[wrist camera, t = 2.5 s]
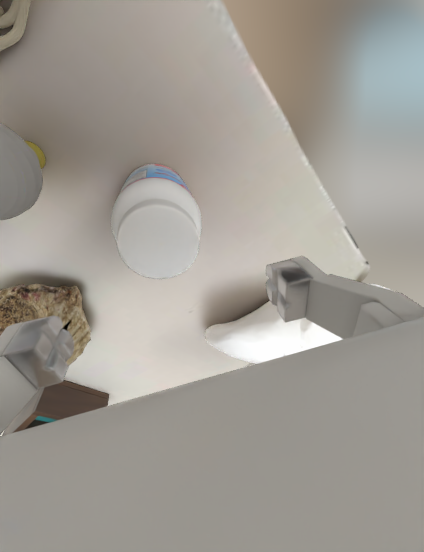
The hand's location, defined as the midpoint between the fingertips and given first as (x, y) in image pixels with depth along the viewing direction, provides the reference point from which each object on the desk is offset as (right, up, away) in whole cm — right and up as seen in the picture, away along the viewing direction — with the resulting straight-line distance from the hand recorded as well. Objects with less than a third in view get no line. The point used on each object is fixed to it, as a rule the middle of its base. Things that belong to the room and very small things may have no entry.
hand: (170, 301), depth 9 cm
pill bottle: (-4, +9, +13) cm, 16 cm away
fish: (+13, -13, +20) cm, 27 cm away
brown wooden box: (-21, -18, +26) cm, 37 cm away
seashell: (-17, -3, +17) cm, 24 cm away
